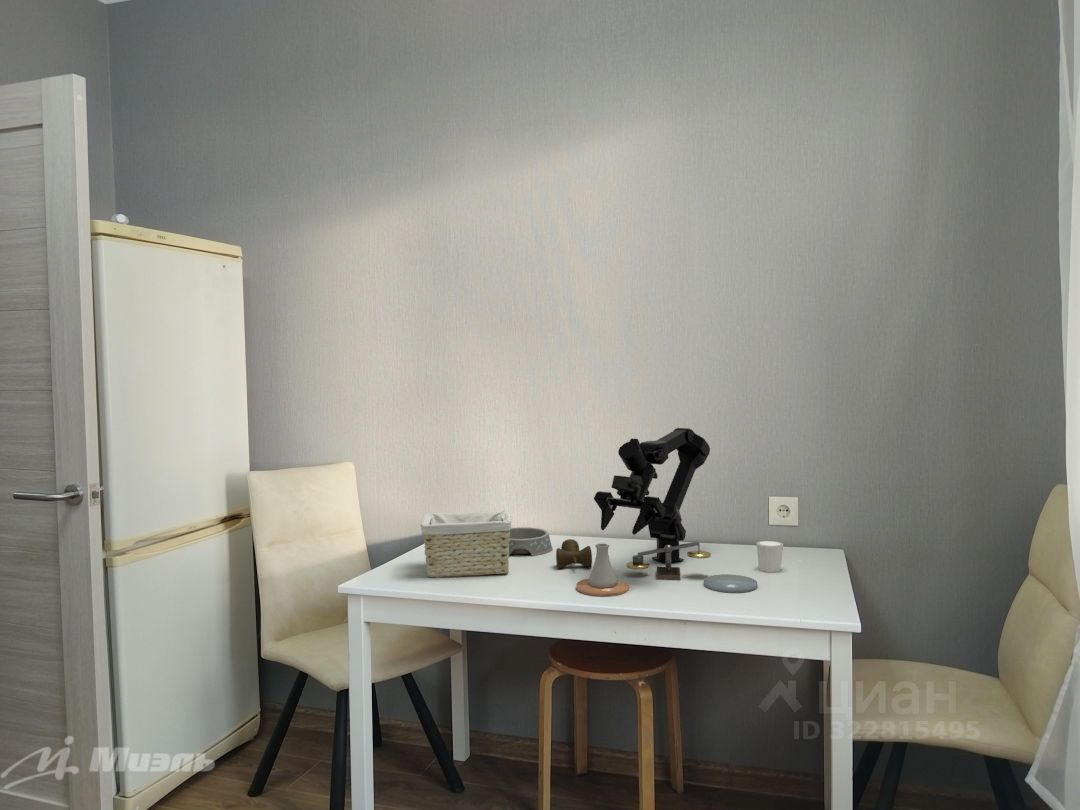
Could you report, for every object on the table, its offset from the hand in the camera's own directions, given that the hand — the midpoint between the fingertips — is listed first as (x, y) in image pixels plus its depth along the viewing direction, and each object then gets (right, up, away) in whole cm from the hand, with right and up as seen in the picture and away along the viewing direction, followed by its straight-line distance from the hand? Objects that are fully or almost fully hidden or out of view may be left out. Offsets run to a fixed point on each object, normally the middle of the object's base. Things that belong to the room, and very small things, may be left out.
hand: (617, 531), depth 208 cm
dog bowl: (-25, -12, +37) cm, 46 cm away
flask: (-4, -12, -5) cm, 14 cm away
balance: (+14, -12, +6) cm, 20 cm away
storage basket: (-39, -13, +15) cm, 44 cm away
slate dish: (+28, -13, -4) cm, 31 cm away
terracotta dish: (-4, -13, -5) cm, 15 cm away
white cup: (+42, -12, +11) cm, 45 cm away
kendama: (-10, -12, +20) cm, 25 cm away
